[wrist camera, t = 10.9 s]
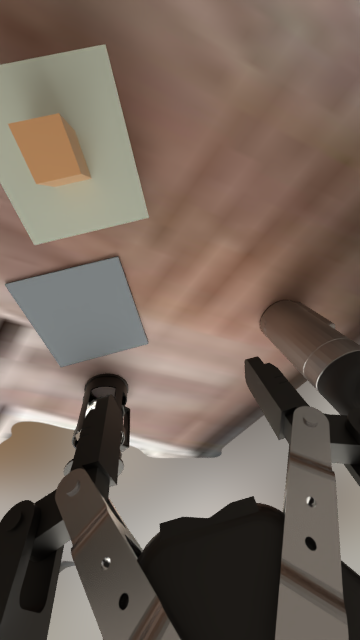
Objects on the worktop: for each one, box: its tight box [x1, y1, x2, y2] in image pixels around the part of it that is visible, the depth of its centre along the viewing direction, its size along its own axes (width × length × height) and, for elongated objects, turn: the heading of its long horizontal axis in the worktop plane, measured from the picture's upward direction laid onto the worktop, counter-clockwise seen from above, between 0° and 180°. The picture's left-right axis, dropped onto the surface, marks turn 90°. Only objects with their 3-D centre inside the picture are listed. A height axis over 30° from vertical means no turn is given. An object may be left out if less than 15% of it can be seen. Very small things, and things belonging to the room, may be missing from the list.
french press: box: [64, 374, 130, 476], centre depth 38 cm, size 12×9×23 cm
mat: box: [5, 256, 148, 367], centre depth 38 cm, size 18×18×1 cm
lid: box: [0, 44, 149, 245], centre depth 20 cm, size 14×14×6 cm
